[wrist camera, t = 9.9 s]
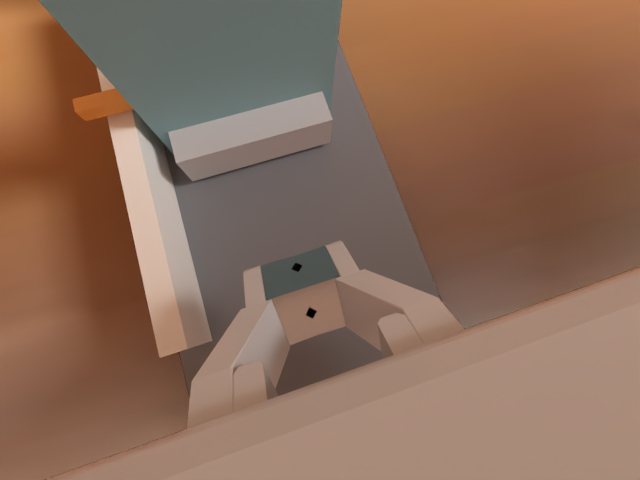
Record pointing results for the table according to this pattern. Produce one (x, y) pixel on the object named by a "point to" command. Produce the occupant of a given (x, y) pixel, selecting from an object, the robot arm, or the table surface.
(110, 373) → the table surface
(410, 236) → the bench
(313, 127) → the block
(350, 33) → the table surface
